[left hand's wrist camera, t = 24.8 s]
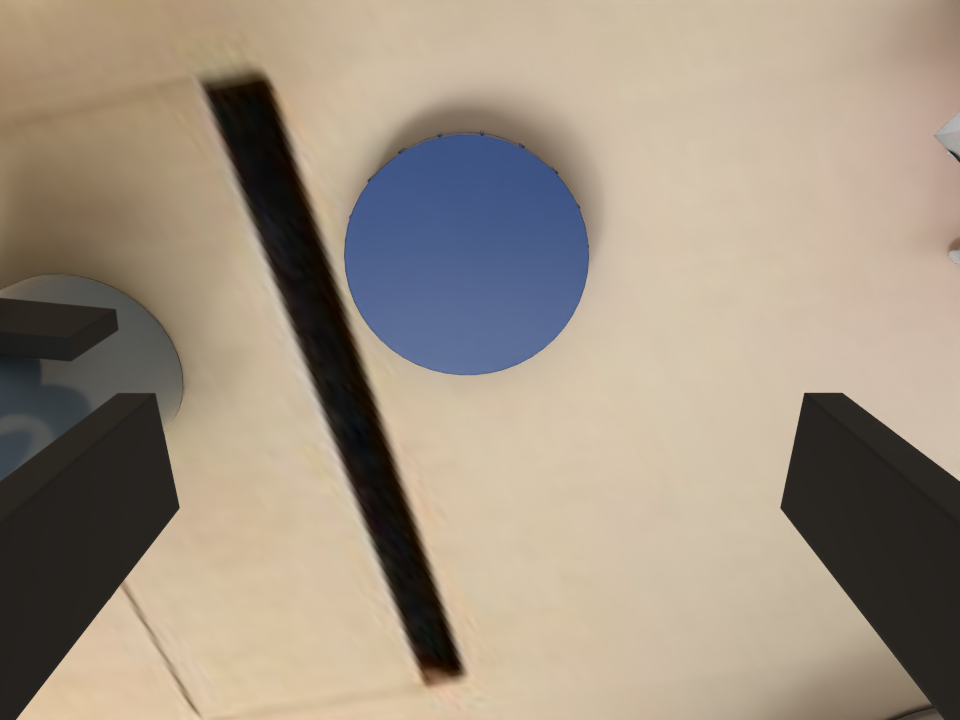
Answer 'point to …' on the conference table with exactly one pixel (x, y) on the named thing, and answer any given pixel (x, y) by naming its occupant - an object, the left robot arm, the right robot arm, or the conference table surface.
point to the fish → (956, 139)
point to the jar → (81, 370)
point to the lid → (466, 254)
